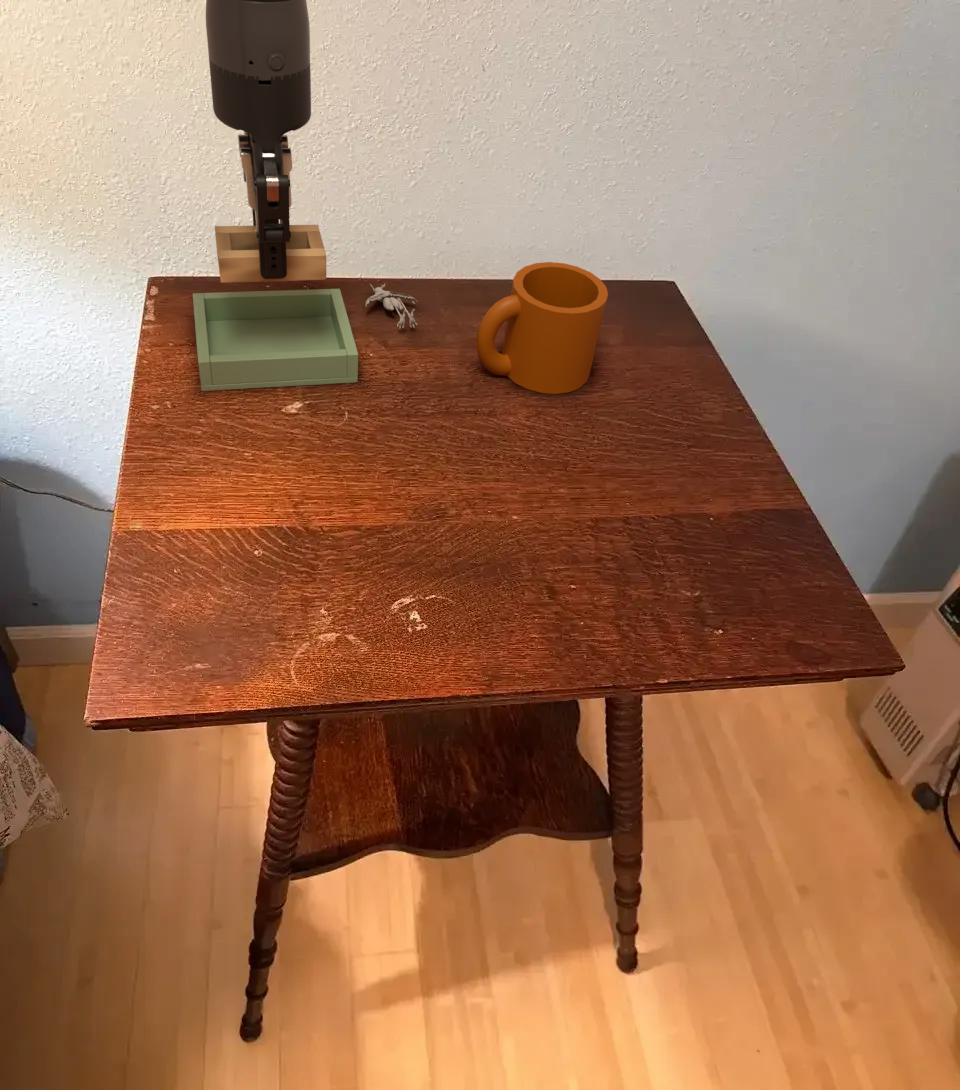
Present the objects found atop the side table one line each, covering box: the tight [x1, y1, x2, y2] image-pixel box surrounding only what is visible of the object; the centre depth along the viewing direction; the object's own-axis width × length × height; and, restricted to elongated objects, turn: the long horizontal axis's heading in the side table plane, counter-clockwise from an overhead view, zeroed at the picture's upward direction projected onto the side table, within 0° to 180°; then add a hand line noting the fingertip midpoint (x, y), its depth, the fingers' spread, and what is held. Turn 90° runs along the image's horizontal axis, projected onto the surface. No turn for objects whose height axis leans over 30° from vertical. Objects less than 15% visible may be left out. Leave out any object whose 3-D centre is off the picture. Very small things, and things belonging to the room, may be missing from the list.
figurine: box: [365, 283, 418, 329], centre depth 96 cm, size 6×2×8 cm
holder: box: [192, 288, 359, 392], centre depth 89 cm, size 14×12×3 cm
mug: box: [475, 261, 609, 395], centre depth 89 cm, size 9×12×9 cm
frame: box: [214, 224, 327, 284], centre depth 83 cm, size 9×6×2 cm, turn 104°
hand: (270, 258), depth 83 cm, fingers closed on frame, 5 cm apart
